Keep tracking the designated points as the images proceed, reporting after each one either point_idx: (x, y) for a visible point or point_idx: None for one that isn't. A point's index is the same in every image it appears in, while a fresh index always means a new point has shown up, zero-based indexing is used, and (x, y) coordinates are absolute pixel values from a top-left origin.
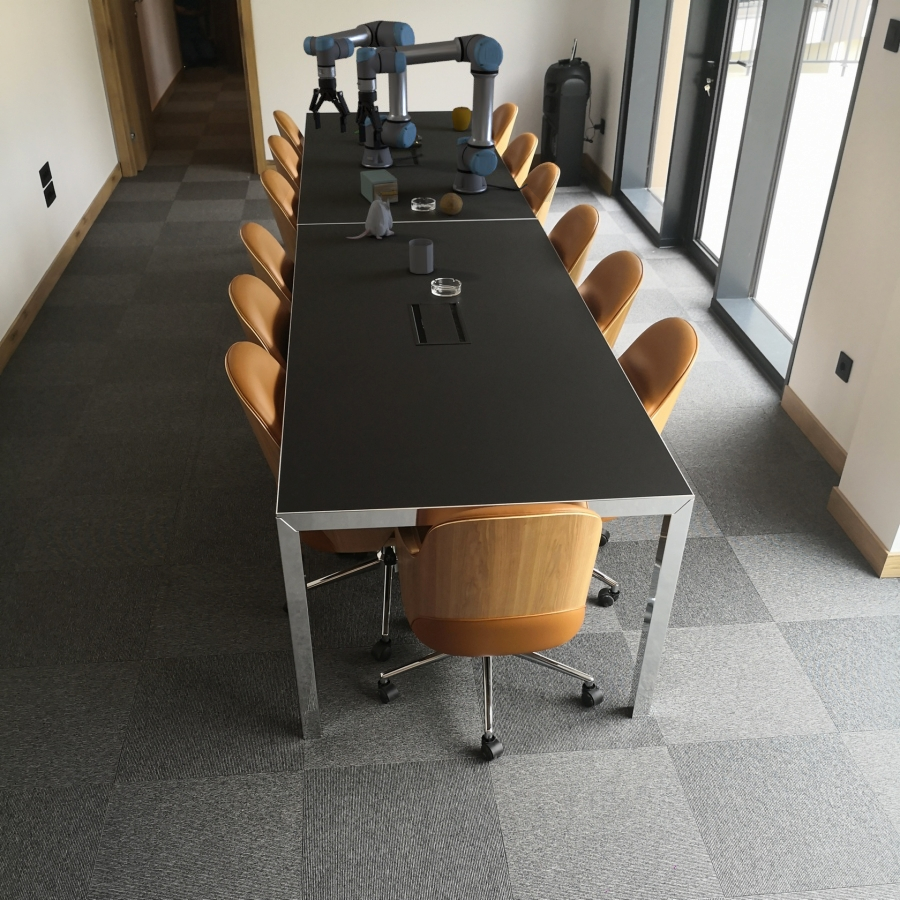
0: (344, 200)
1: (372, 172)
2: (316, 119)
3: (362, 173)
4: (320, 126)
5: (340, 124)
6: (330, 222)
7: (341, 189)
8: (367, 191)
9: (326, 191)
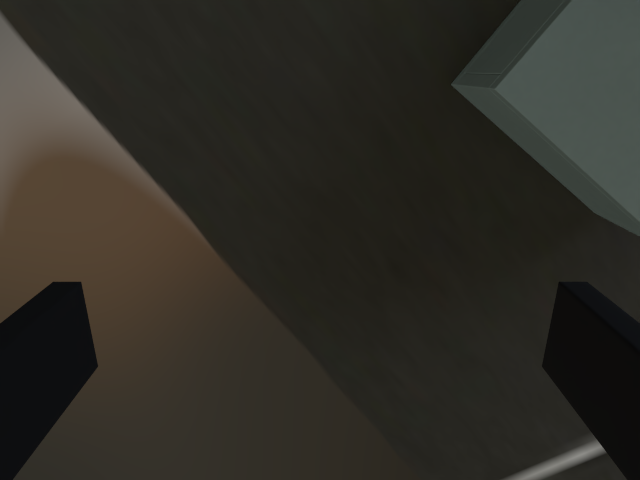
0: (431, 226)
1: (592, 59)
2: (9, 476)
3: (533, 123)
4: (70, 298)
5: (617, 461)
6: (530, 463)
7: (302, 72)
8: (559, 171)
9: (256, 149)
